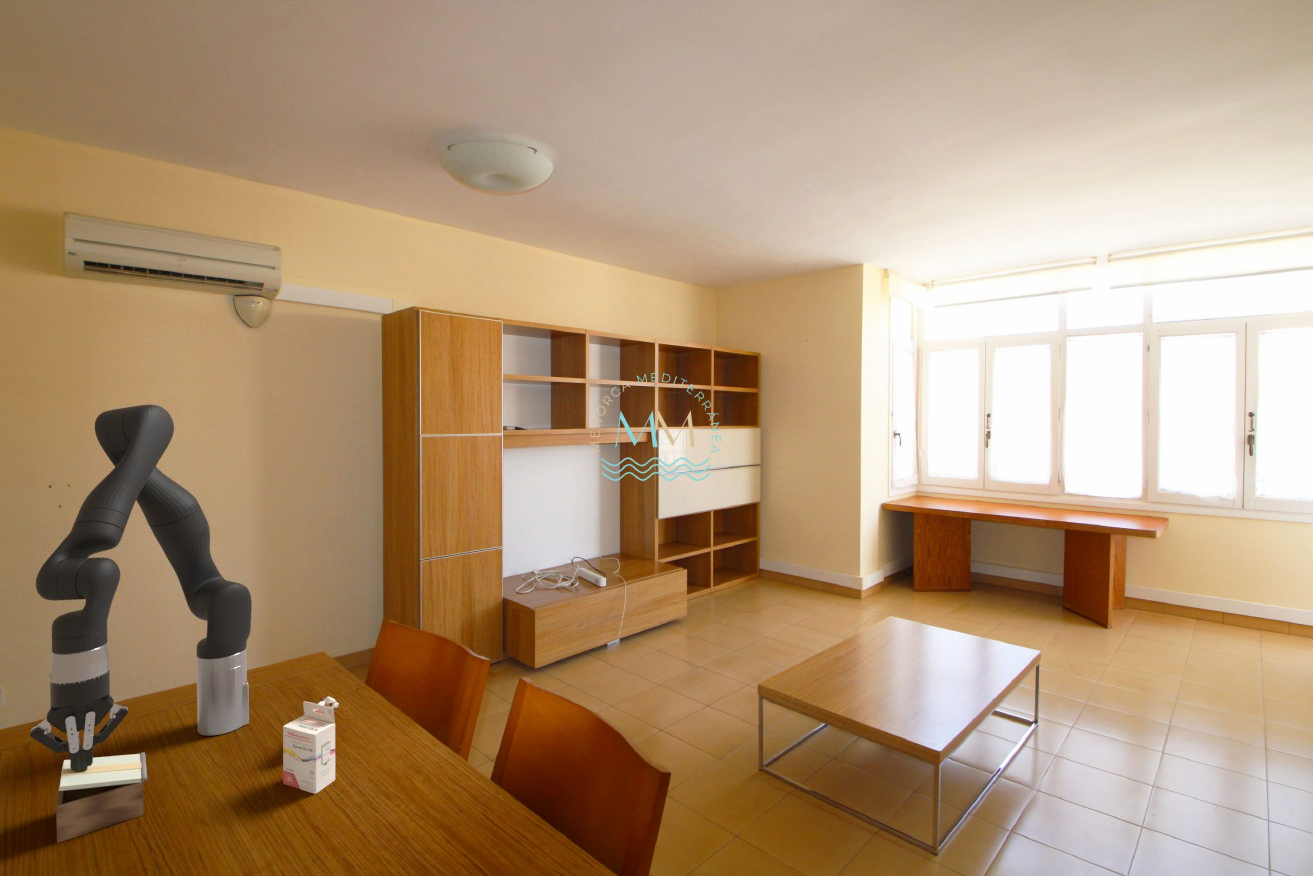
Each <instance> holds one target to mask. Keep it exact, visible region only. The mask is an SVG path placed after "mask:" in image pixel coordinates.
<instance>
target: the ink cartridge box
mask: <svg viewBox="0 0 1313 876" xmlns="http://www.w3.org/2000/svg"><path fill="white" fill-rule="evenodd" d="M302 702H303V703H302V707H303V715H302V716H299V717H297V718H296V719H294V720H292V721H289V722H287V723H286V724H284V725H283V726H282V727H283V728H282V733H283V734H282V745H283V747H282V754H283V755H282V757H283V758H282V762H283V763H282V765H283V766H282V770H283V771H282V777H283V778H282V781H283V782H282V784H283V785H286V786H288V787H291V788H295V789H298V790H301V791H304V792H308V793H311V794H314V795H315V794H318V793H319V792H321V791H322V790H323V789H324V788H326V787H328V786H330V784H331V783H333V782H335V781H336V722H335V710H334V708H330V707H326V706H323V705H319V704H318V703H315V702H309V701H302ZM313 709H319V710H320V711H323V712H324V714H321V713H317V712H314V711H313Z"/></svg>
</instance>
